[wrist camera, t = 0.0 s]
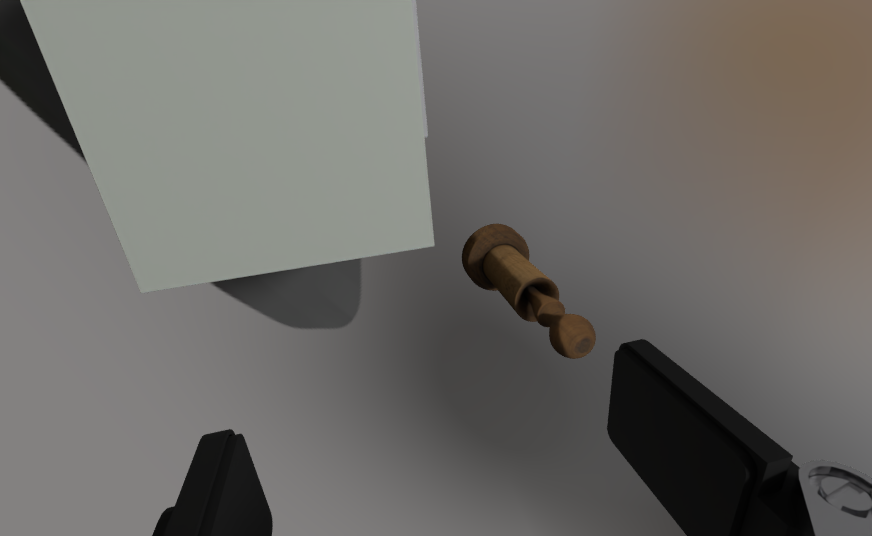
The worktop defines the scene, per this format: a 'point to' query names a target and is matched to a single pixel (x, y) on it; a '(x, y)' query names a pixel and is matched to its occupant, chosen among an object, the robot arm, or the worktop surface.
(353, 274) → the worktop surface
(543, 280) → the mortar and pestle
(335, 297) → the worktop surface
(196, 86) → the grey block
